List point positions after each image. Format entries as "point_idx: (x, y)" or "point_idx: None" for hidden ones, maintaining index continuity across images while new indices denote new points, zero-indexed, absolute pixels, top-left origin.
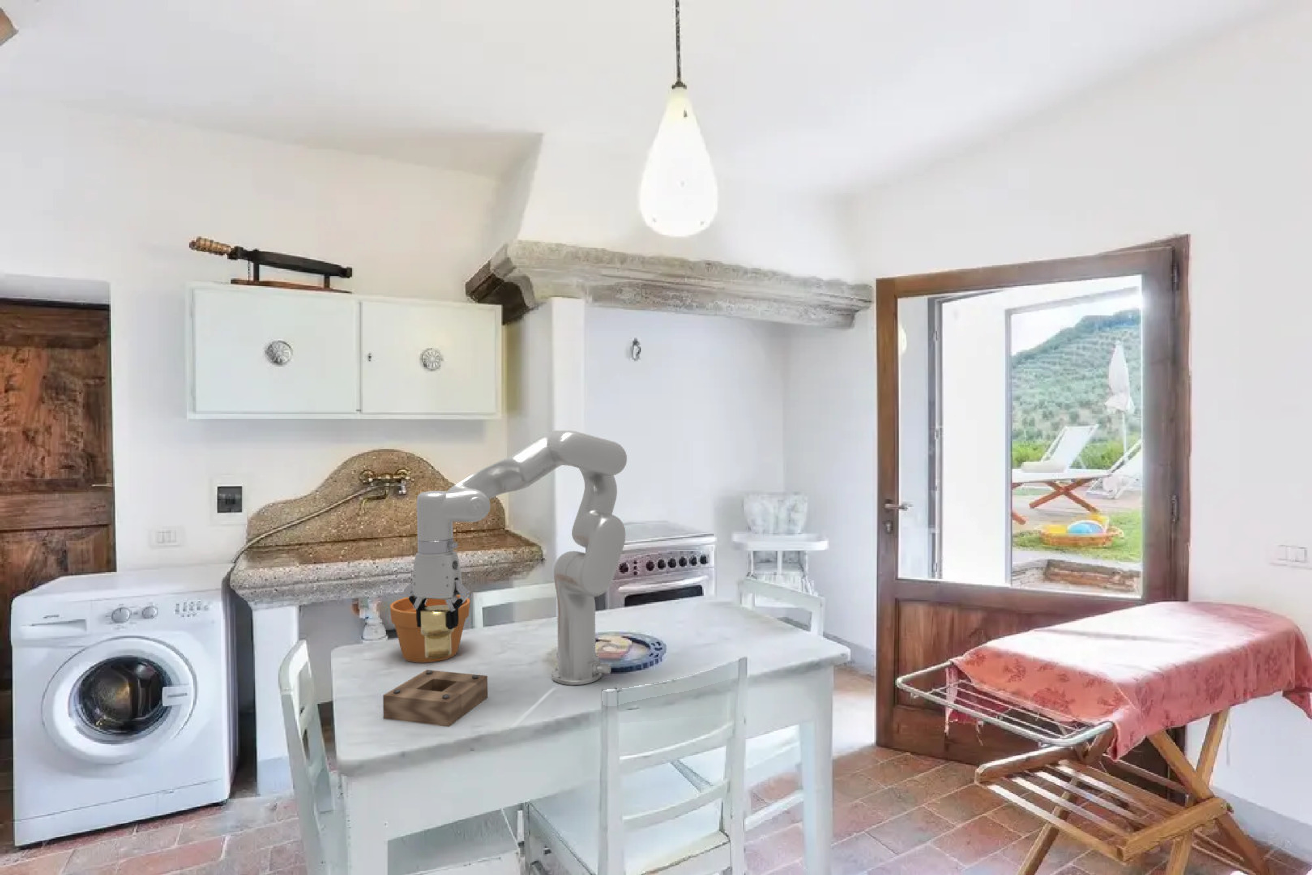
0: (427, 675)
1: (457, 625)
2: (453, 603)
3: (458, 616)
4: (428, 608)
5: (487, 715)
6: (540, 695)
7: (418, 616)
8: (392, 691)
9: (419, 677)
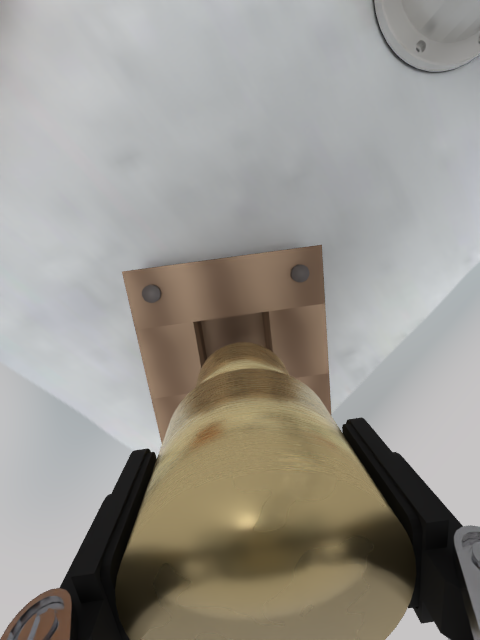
0: (161, 308)
1: (360, 419)
2: (470, 616)
3: (422, 480)
4: (173, 609)
5: (339, 308)
6: (399, 166)
7: None
8: (164, 422)
9: (151, 328)
